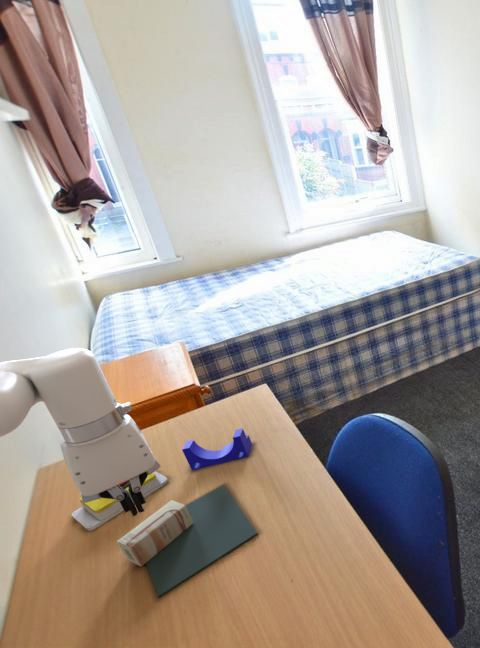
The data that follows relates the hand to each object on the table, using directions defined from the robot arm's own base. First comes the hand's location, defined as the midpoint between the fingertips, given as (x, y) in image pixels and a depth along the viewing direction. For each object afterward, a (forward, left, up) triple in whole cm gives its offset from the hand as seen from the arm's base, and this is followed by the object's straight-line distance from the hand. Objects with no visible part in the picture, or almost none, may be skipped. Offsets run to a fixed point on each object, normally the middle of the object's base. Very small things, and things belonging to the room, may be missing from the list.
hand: (137, 509), depth 82 cm
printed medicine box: (-4, +1, -8) cm, 9 cm away
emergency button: (-2, +25, -11) cm, 27 cm away
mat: (+6, 0, -11) cm, 12 cm away
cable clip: (+17, +21, -11) cm, 29 cm away
